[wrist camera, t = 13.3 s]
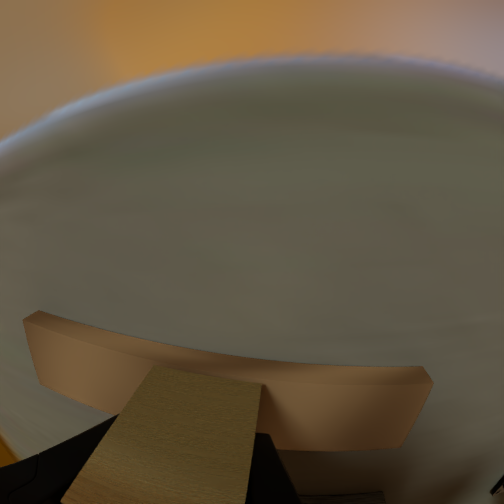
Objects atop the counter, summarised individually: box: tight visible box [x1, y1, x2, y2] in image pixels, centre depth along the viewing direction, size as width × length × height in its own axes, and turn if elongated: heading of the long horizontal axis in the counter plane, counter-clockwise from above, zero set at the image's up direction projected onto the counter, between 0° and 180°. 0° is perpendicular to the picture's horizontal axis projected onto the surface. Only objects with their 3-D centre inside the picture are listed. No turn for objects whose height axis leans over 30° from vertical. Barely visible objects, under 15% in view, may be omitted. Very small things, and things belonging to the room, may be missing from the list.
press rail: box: [23, 310, 434, 451], centre depth 8 cm, size 14×3×1 cm, turn 85°
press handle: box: [60, 365, 262, 504], centre depth 5 cm, size 3×3×5 cm
